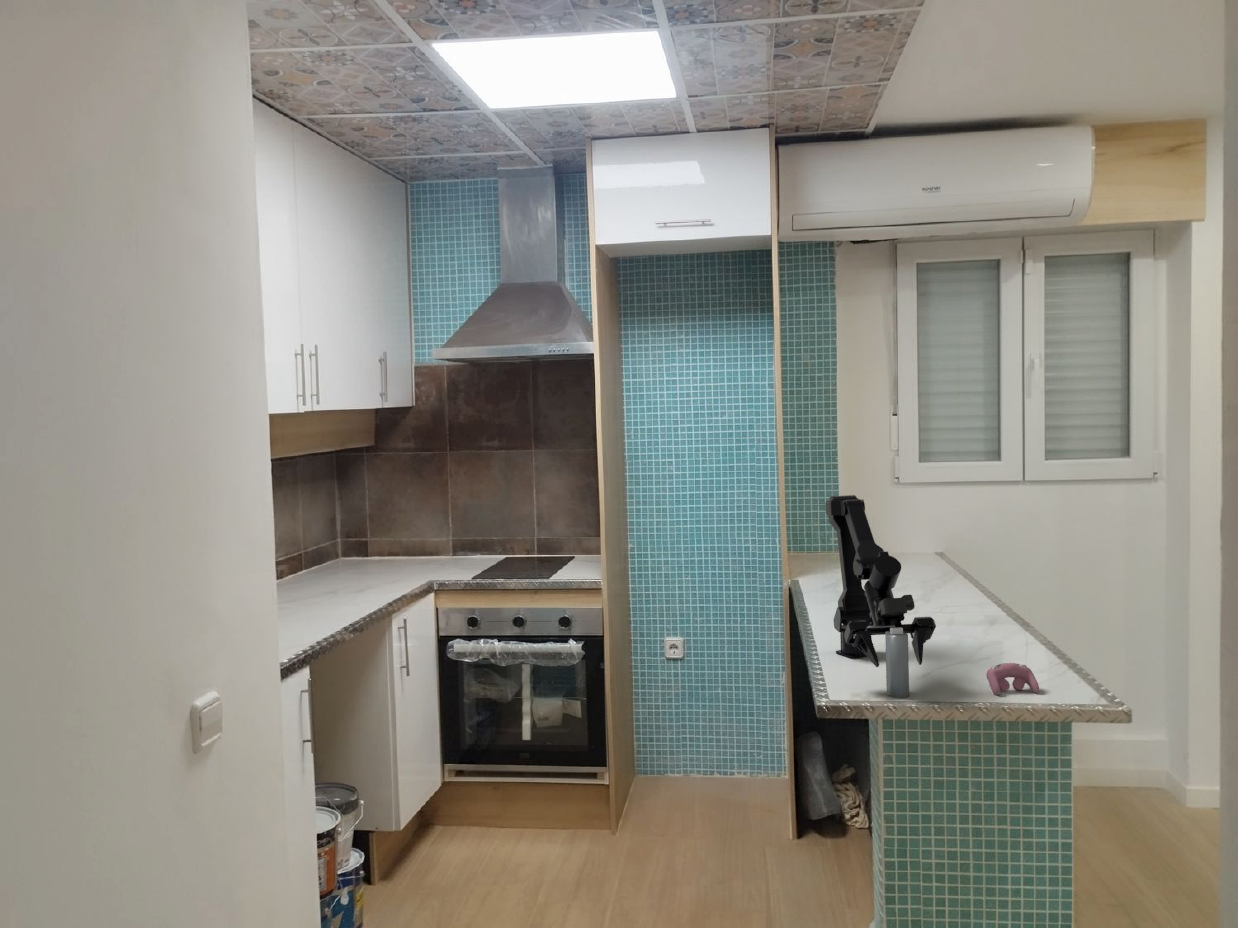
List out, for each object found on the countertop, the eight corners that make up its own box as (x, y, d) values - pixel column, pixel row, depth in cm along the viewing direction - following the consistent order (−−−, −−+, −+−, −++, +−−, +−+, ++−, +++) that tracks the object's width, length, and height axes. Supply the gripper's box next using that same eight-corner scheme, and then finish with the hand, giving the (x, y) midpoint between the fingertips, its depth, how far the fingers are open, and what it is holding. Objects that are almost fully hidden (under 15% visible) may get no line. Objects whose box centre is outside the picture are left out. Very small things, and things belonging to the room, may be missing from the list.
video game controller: (1033, 696, 215) (1026, 663, 217) (1042, 692, 210) (1035, 659, 213) (987, 698, 214) (981, 665, 217) (995, 695, 210) (989, 661, 213)
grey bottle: (884, 690, 218) (882, 625, 217) (902, 689, 218) (900, 624, 217) (893, 698, 212) (891, 631, 211) (912, 697, 212) (910, 630, 211)
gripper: (846, 584, 217) (863, 647, 206) (932, 579, 218) (952, 642, 208) (837, 612, 225) (853, 674, 215) (919, 608, 226) (938, 669, 216)
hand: (899, 664), depth 213 cm, fingers open, 9 cm apart
